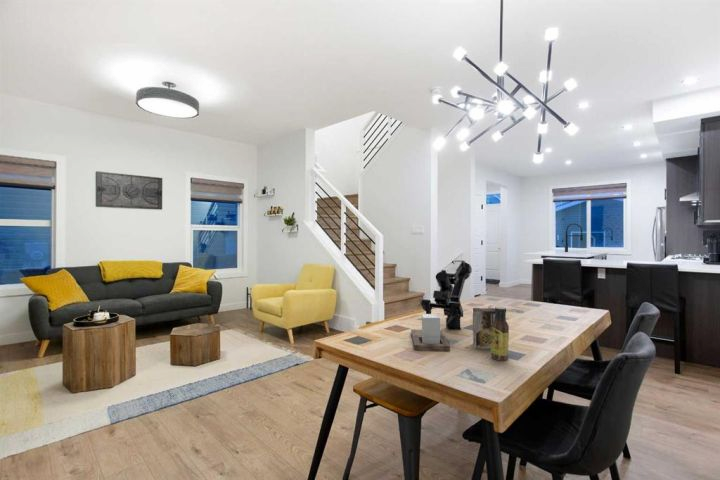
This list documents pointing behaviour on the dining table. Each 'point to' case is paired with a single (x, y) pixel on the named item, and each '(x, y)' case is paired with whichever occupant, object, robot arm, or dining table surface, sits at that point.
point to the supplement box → (430, 329)
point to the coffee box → (482, 327)
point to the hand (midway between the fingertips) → (436, 322)
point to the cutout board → (431, 347)
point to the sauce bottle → (500, 335)
